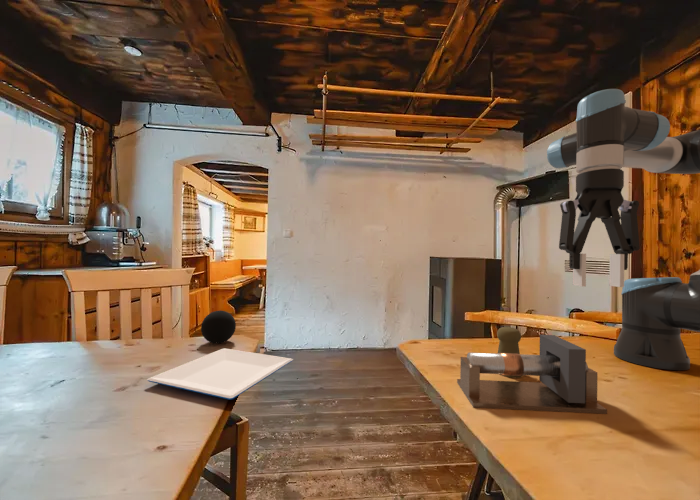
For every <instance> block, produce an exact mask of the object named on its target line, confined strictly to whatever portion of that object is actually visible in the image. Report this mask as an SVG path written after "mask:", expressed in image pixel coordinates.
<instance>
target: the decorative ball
mask: <svg viewBox="0 0 700 500" xmlns="http://www.w3.org/2000/svg"><path fill="white" fill-rule="evenodd" d="M236 328H237V323H236V320H235V318H234V316H233V315H232V314H231V313H229V312H228V311H225V310H215V311H212V312H210V313H209V314H207V315H206V316H205V317H204V319H203V320H202V323H201V325H200V331H201V335H202V337H203V338H204V339H205V340H206V341H207V342H209V343H212V344H223V343H225V342H227V341H228V340H230V339H231V338H232V337H233V335H234V334H235V332H236Z"/></svg>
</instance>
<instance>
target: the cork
mask: <svg viewBox="0 0 700 500" xmlns="http://www.w3.org/2000/svg"><path fill="white" fill-rule="evenodd" d="M496 335H497V339H498V340H499V341H498V347H497V354H498V353H517V354H521V353H520V346H519V343H520V341H521V339H522V333H521V332H520V330H519V329H517V328H514V327H509V326H502V327H500V328H498V330H497V332H496ZM498 375H500V376H502V377H505V378H512V379H519V378H522V377H524V375H522V376H511V375H501V374H498Z"/></svg>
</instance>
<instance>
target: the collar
mask: <svg viewBox="0 0 700 500" xmlns="http://www.w3.org/2000/svg"><path fill="white" fill-rule="evenodd" d="M586 353H587V350H586V349H585V348H584V347H581V346H580V345H577V344H575V343H572V342H570V341H568V340H566V339H563V338H561V337H559V336H557V335H555V334H539V355H551V356H557V357H559V358H560V377H555V376H538V377H539V378H538V381H540V383H544V384H545V385H546V386H547V387H549V388H550V389H551V390H553V391H554V392H555V393H557V394H558V395H559V396H560V397H562V398H563V399H564V400H566V401H567V402H568V403H585V383H586V363H587V361H586V360H587V358H586V357H587V354H586Z"/></svg>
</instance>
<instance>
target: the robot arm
mask: <svg viewBox="0 0 700 500" xmlns="http://www.w3.org/2000/svg"><path fill="white" fill-rule="evenodd" d="M626 102H627V101H626V96H625V92H623V90H621V89H618V88H607V89H602V90H598V91H595V92H593V93H590V94H588V95H586V96H584V97H583V98H582V99H580V101H579V102H578V103H577V108H576V109H577V110H576V119H575V122H576V123H575V124H576V132H574V133H572V134H568V135H567V136H562V137H560V138H559V139H556V140H554V141H552V142H551V143H550V144H549V146H548V148H547V150H546V155H547V156H546V158H547V162H548V163H549V165H550V166H552V167H553V169H554V168H555V169H563V168H565V169H566V168H569V167H572V166H575V167H576V168H575V171H576V173H577V175H576V177H575V192H576V193H577V194H576V196H575V198H574V199H572V200H566V201H563V202H561V203H560V204H559V206H560V210H561V212H562V213H561V214H562V215H561V222H560V223H561V224H560V233H559V242H558V249H559V250H561V251H565V253H566V254H569V255H568V256H569V259H568V260H569V269H571V270H572V285H573V286H576V287H586V286H587V253H582V251H583V249H584V246H585V243H586V241H587V238H588V235H589V232H590V230H591V227H592V224H593V222H594V221H595V220H596V219H600V220H601V223H603V224H604V227H605V230H606V233H607V235H608V239H609V240H610V244H611V246H612V250H613V252H614V253H609V273H608V274H609V280H608V281H609V286H610V287H617V288H622V290H621V331H620V333H619V335H618V337H617V339H616V342H615V344H614V346H613V355H614V356H615V357H617V358H618V359H621V360H623V361H626V362H629V363H631V364H636V365H640V366H645V367H649V368H655V369H661V370H662V369H663V370H666V371H667V370H668V371H669V370H670V371H686V370H690V368H691V358H690V357H689V355H688V353H687V351H686V348H685V345H684V342H683V340H682V337H681V330H682V329H683V330H687V331H692V332H697V333H698V332H699V333H700V269H698V270H697V271H695V272H693V273H691V274H690V275H689V280H688V283H685V282H684V283H683V280H682V279H681V278H680V277H679V276H677V277H676V276H675V277H673V276H672V277H671V276H669V277H641V278H639V277H637V278H628V279H625V271H627V270H628V267H629V265H628V264H629V260H628V259H629V257H628V256H629V255H631V254H633V253H634V251H635V252H637V251H640V237H639V236H640V235H639V225H638V224H639V223H638V222H639V221H638V213H637V212H638V209H639V206H640V202H639V201H638V200H633V201H631V200H626V199H624V196H623V195H622V191H623V188H624V187H625V185H624V183H625V181H624V180H625V171H624V170H622V168H629V169H630V168H631V169H643V170H645V171H646V172H649V173H654V174H668V175H669V174H670V175H672V174H673V175H676V174H677V175H692V174H694V175H695V174H696V175H697V174H700V129H697V130H694V131H690V132H687V133H684V134H679V135H677V136H676V135H675V136H669V133H670V130H671V123H670V121H669V118H667V117H666V116H664V115H662V114H658V113H656V112H655V111H650V110H649V111H648V110H643V109H637V108H633V107H629V106H626ZM577 209H579V215H578V217H577ZM576 218H577V224H576ZM575 226H576V227H575Z"/></svg>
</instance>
